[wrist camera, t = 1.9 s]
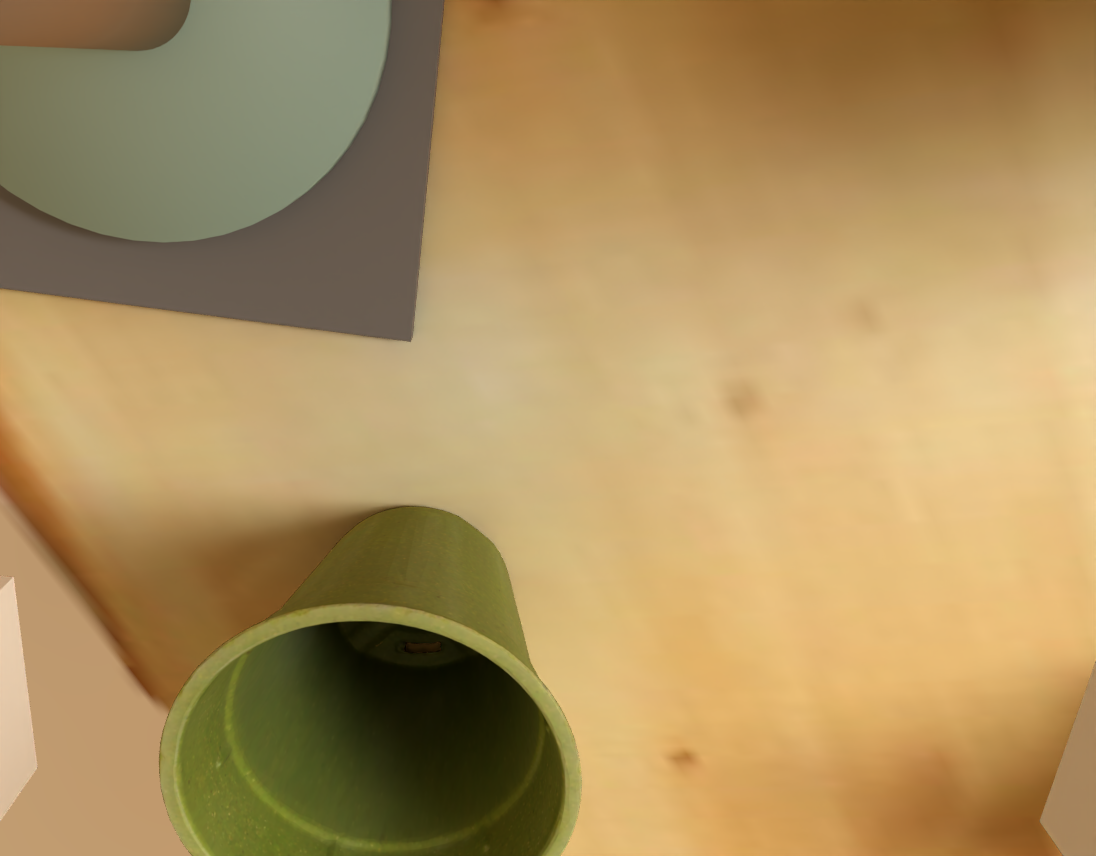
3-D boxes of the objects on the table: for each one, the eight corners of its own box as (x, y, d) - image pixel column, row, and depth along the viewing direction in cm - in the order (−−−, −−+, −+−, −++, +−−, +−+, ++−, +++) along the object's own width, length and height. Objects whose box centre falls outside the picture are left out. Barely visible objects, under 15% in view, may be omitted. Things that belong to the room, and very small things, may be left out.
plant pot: (475, 391, 34) (454, 536, 23) (615, 639, 38) (650, 857, 27) (201, 526, 36) (67, 717, 25) (362, 749, 40) (303, 996, 29)
